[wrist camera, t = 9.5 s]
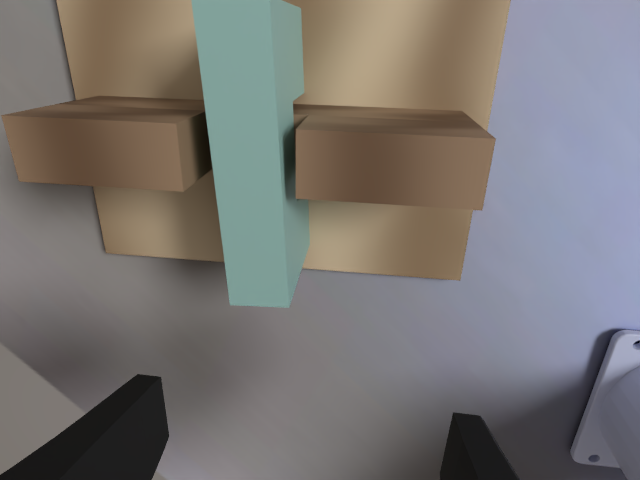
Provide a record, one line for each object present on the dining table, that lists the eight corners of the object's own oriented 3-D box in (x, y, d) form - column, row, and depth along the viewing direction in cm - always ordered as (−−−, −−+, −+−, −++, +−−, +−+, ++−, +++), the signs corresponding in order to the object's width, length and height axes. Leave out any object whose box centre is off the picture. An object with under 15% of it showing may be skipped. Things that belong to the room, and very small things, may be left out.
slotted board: (514, -48, 14) (588, -96, 9) (457, 273, 19) (486, 356, 14) (56, -52, 16) (-92, -95, 11) (113, 247, 21) (29, 313, 16)
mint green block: (301, 8, 15) (269, -5, 11) (309, 243, 19) (289, 307, 14) (244, 10, 16) (191, -2, 11) (264, 242, 19) (230, 305, 15)
